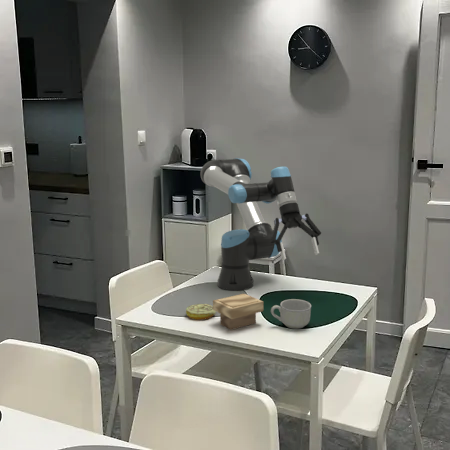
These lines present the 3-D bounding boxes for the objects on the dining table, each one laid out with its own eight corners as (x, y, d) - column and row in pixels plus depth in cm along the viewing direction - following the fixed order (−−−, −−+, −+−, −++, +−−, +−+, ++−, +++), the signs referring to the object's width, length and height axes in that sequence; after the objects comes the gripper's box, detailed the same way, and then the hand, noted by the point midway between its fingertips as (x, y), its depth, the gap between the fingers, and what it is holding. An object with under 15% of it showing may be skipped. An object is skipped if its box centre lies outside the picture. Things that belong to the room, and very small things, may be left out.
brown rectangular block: (219, 324, 214) (219, 311, 213) (245, 318, 221) (245, 304, 220) (230, 330, 209) (230, 316, 208) (256, 323, 215) (256, 309, 214)
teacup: (310, 320, 218) (310, 299, 216) (311, 331, 207) (311, 309, 205) (271, 319, 219) (271, 298, 217) (270, 330, 208) (270, 308, 207)
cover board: (213, 309, 215) (212, 299, 214) (243, 302, 222) (243, 292, 221) (231, 319, 205) (231, 308, 205) (263, 311, 213) (263, 300, 212)
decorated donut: (221, 317, 223) (221, 307, 222) (196, 323, 216) (196, 313, 216) (205, 309, 231) (205, 300, 230) (181, 315, 225) (180, 305, 224)
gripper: (260, 206, 233) (272, 259, 227) (320, 197, 239) (334, 249, 234) (255, 212, 240) (267, 264, 234) (314, 203, 246) (327, 254, 241)
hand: (300, 256), depth 234 cm, fingers open, 13 cm apart
